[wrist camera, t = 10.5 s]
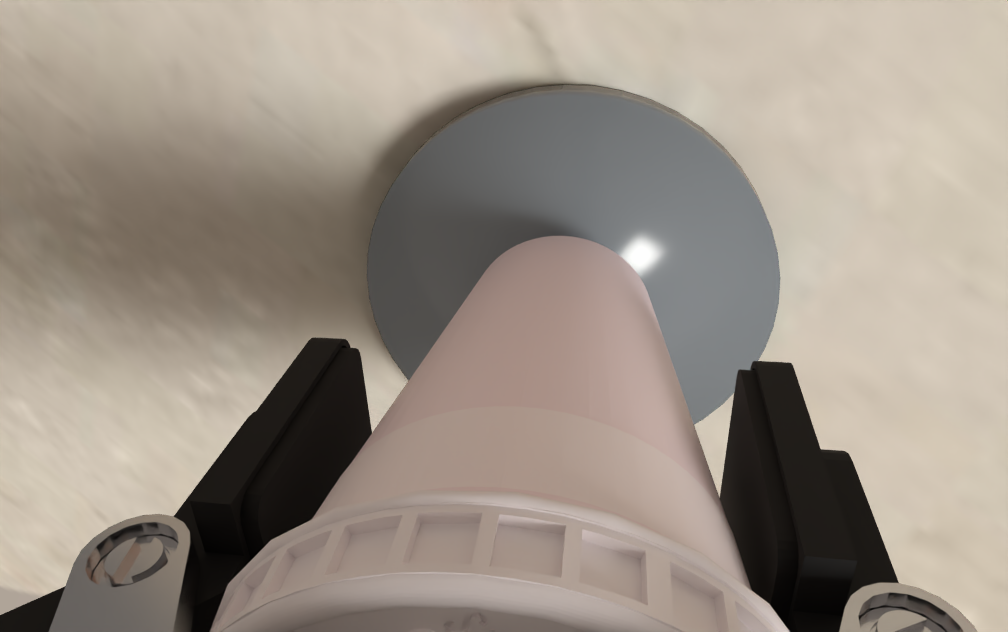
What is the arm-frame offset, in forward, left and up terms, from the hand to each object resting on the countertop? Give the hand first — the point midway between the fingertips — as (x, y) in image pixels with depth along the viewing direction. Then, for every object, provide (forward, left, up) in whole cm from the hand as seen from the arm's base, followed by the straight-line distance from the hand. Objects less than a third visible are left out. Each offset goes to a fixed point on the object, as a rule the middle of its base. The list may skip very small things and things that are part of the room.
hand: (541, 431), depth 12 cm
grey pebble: (0, 0, -6) cm, 6 cm away
